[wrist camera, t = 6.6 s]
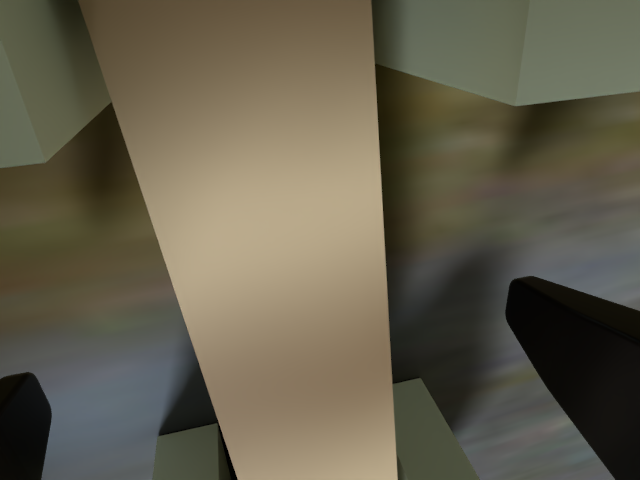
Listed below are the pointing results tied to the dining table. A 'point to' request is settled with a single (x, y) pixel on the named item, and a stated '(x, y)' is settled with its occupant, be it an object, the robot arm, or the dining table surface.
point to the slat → (266, 216)
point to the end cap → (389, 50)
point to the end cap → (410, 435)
